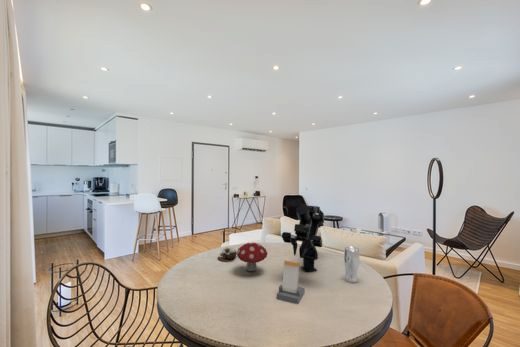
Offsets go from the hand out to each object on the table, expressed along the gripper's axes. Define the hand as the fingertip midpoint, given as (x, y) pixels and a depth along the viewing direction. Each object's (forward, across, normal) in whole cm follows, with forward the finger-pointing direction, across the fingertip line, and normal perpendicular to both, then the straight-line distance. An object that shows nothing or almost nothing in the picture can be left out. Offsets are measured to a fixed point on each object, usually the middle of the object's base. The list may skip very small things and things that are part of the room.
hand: (298, 255), depth 110 cm
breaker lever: (+16, 0, -1) cm, 16 cm away
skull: (-1, -47, +21) cm, 52 cm away
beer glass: (-2, +22, +22) cm, 31 cm away
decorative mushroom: (+7, -26, +13) cm, 30 cm away
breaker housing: (+17, 0, +2) cm, 17 cm away
